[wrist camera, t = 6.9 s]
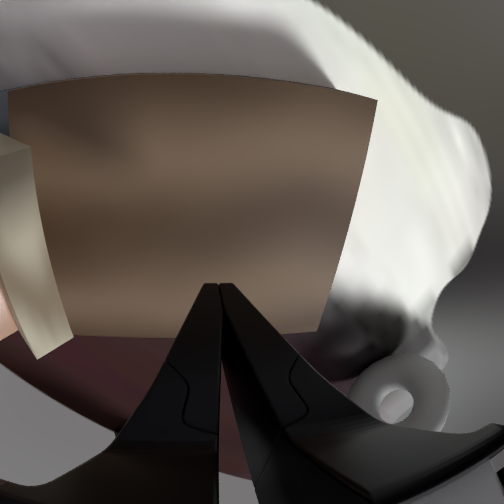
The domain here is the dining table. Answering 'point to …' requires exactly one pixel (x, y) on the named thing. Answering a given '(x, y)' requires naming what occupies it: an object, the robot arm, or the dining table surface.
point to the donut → (407, 378)
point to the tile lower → (27, 255)
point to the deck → (191, 193)
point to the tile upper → (6, 318)
